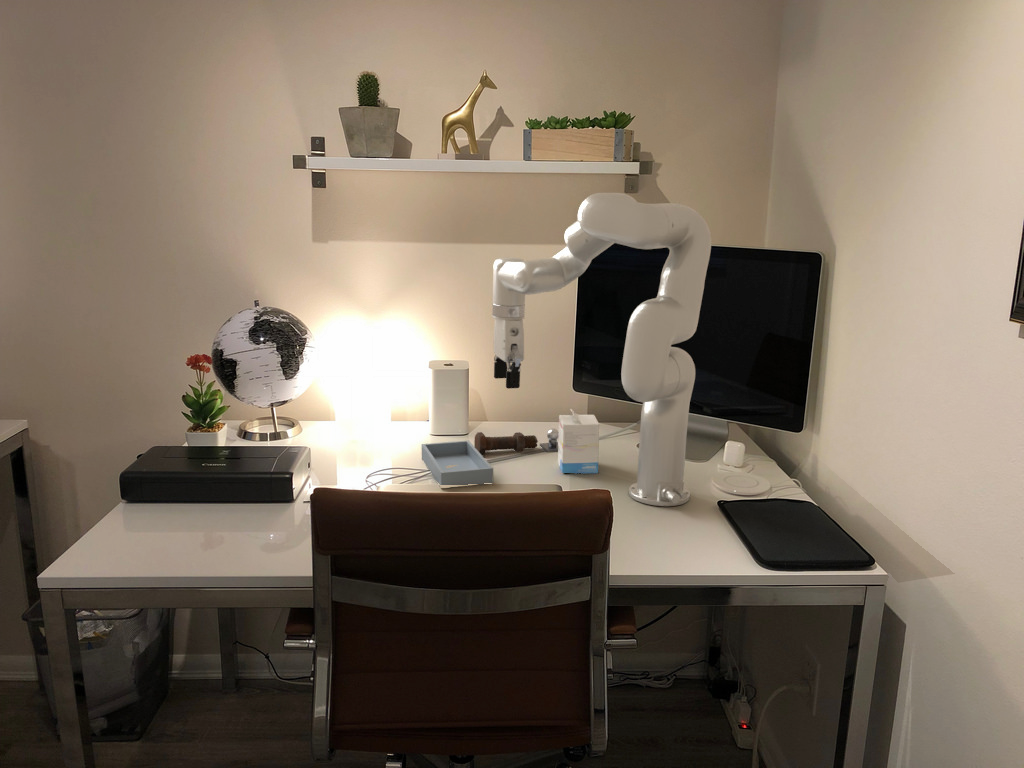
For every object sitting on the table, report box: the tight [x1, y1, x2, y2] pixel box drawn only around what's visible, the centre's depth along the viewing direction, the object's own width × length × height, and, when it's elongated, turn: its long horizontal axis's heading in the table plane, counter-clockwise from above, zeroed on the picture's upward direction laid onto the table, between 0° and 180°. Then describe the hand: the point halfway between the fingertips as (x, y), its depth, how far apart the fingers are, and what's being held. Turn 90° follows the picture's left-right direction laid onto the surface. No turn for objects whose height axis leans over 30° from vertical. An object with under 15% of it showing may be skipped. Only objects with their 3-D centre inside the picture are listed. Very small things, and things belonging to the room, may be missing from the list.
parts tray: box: [421, 440, 494, 485], centre depth 187 cm, size 20×11×4 cm, turn 18°
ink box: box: [557, 408, 600, 475], centre depth 189 cm, size 9×8×13 cm
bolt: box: [473, 431, 539, 456], centre depth 201 cm, size 6×5×15 cm
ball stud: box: [539, 428, 559, 453], centre depth 204 cm, size 5×5×5 cm
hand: (506, 382), depth 197 cm, fingers open, 9 cm apart
